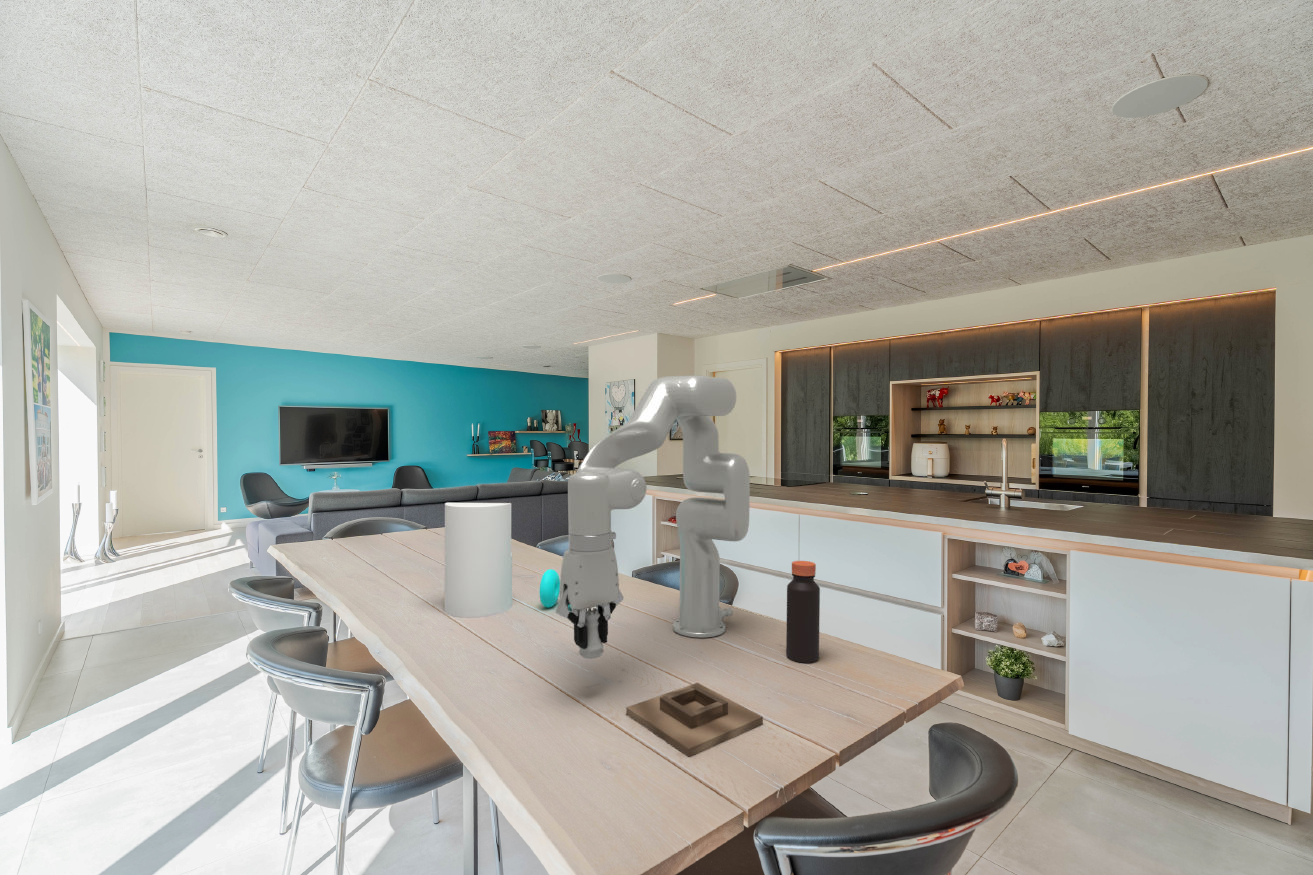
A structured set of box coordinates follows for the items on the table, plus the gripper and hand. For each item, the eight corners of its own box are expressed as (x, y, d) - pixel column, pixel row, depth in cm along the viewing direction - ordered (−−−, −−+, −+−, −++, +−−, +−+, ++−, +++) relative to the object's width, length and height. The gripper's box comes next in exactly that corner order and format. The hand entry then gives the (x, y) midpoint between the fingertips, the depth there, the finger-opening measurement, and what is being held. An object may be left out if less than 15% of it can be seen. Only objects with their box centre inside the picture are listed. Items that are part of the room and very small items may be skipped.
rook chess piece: (579, 649, 107) (578, 606, 106) (604, 648, 107) (603, 605, 107) (578, 659, 102) (577, 614, 102) (603, 658, 103) (603, 613, 102)
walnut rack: (697, 688, 108) (697, 671, 108) (762, 723, 95) (763, 704, 95) (626, 714, 98) (626, 695, 98) (688, 756, 86) (688, 735, 86)
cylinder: (501, 618, 148) (502, 507, 147) (433, 617, 148) (434, 506, 147) (518, 598, 165) (519, 499, 164) (457, 597, 165) (458, 498, 165)
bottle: (821, 654, 125) (822, 561, 125) (816, 665, 119) (817, 568, 119) (789, 649, 128) (790, 558, 128) (782, 660, 122) (784, 564, 122)
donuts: (550, 600, 163) (550, 565, 163) (584, 602, 161) (585, 566, 161) (537, 611, 153) (538, 573, 153) (574, 613, 151) (575, 575, 151)
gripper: (616, 532, 112) (617, 627, 113) (538, 545, 102) (539, 648, 103) (639, 539, 106) (640, 638, 107) (558, 552, 96) (560, 662, 97)
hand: (591, 642), depth 105 cm, fingers closed on rook chess piece, 3 cm apart
